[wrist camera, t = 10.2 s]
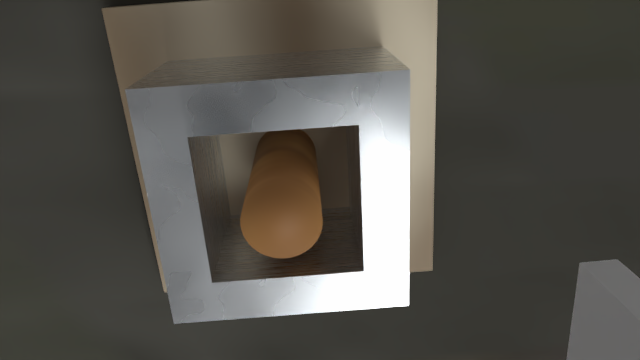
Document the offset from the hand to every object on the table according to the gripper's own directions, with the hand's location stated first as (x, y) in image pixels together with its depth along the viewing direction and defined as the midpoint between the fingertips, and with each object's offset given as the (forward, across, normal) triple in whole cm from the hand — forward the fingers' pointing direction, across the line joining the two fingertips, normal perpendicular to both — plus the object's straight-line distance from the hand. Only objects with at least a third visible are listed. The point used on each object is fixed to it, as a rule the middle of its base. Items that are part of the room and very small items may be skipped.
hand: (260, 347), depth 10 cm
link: (+11, 0, 0) cm, 11 cm away
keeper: (+12, 0, 0) cm, 12 cm away
